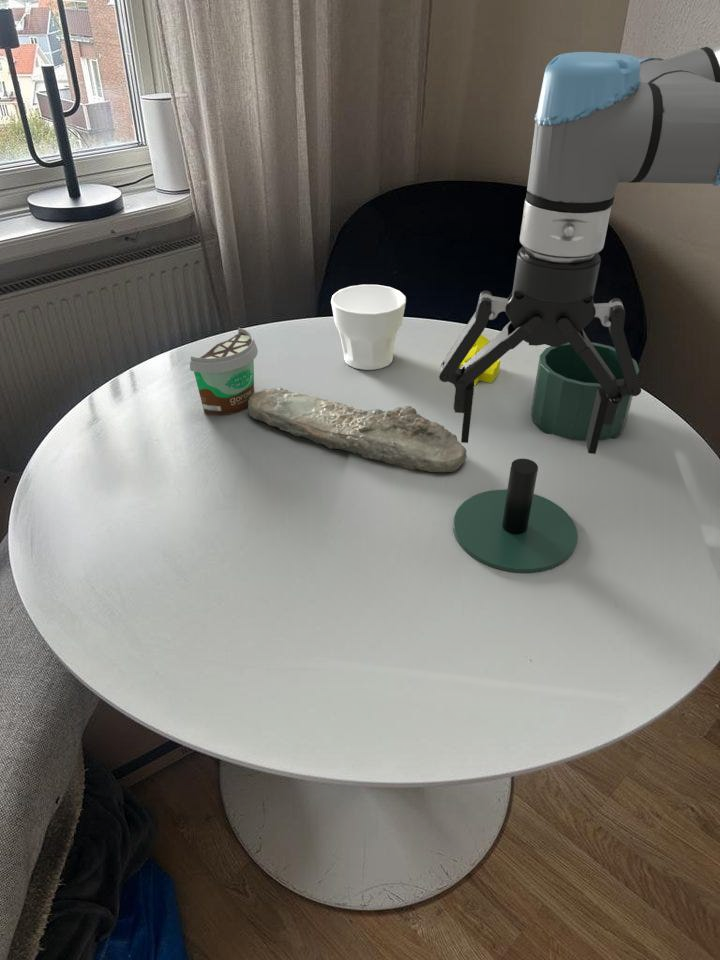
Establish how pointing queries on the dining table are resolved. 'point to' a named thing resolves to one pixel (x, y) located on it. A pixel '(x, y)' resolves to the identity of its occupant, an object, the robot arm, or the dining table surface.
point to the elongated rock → (362, 430)
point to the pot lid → (515, 525)
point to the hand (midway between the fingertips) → (527, 441)
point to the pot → (574, 393)
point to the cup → (368, 323)
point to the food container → (226, 374)
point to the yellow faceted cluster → (491, 371)
